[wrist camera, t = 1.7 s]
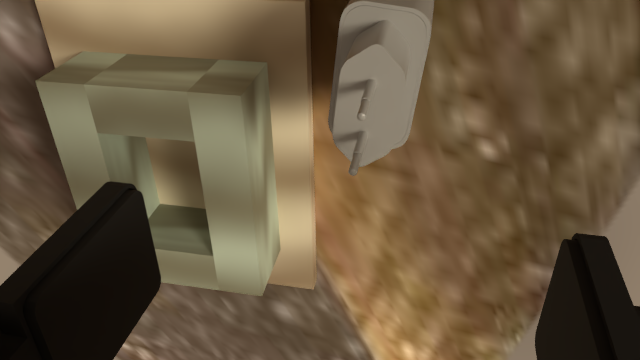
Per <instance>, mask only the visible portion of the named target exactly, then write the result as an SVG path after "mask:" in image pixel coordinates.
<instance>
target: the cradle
mask: <svg viewBox="0 0 640 360" xmlns="http://www.w3.org/2000/svg"><path fill="white" fill-rule="evenodd" d="M35 3H36V6H37V10H38V13H39V16H40V20H41V23H42V26H43V30H44V33H45V36H46V40H47V43H48V46H49V50H50V53H51V56H52V60H53V63H54V66H55V69H54V70H52V71H51V72H49V73H47V74H46V75H44V76H42V77H41V78H39V79H38V80H36V81H35V82H36V85H37V88H38V91H39V94H40V97H41V100H42V104H43V107H44V110H45V113H46V116H47V119H48V122H49V125H50V128H51V131H52V134H53V137H54V140H55V144H56V147H57V150H58V153H59V156H60V159H61V162H62V165H63V168H64V171H65V174H66V177H67V181H68V184H69V187H70V190H71V193H72V196H73V199H74V202H75V205H76V208H77V210H78V209H79V208H80V207H81V206H82V205H83V204H84V203H85V202H86V201H87V200H88V199H89V198H90V197H92V196H93V195H94V194H95V193H96V192H97V191H98V190H99V189H100V188H101V187H102V186H103V185H104V184H105V183H106V182H109V181H112V182H121V183H130V184H133V185H134V186H135V187H136V189H137V190H138V191H141V193H142V195H143V198H144V202H145V207H146V211H147V216H148V220H149V225H150V229H151V234H152V238H153V243H154V247H155V252H156V256H157V261H158V265H159V270H160V274H161V282H164V283H171V284H178V285H185V286H193V287H200V288H207V289H214V290H221V291H228V292H236V293H243V294H250V295H257V296H262V294H263V292H264V290H265V287H266V285H267V283H270V284H278V285H285V286H292V287H300V288H307V289H314V286H315V283H316V279H317V269H316V229H315V190H314V150H313V111H312V72H311V32H310V0H35Z"/></svg>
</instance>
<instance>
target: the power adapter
mask: <svg viewBox="0 0 640 360" xmlns="http://www.w3.org/2000/svg"><path fill="white" fill-rule="evenodd" d="M433 7H434V0H350V1H349V2H348V4H347V6H346V8H345V9H344V11H343V13H342V15H341V19H340V24H339V33H338V42H337V50H336V59H335V67H334V76H333V84H332V93H331V101H330V110H329V118H328V122H329V128H330V131H331V132H332V134H333V140H334V143H335V145H336V146H337V147H338V148H339V150H340V151H341V152H342V153H343V154H344V155H345V156H346V157H347V158H348V159H349V160H350V161H351V165H350V168H349V174H350V175H353V176H354V175H356V174H357V171H358V167H362V166H365V165H367V164H369V163H371V162H373V161H375V160H377V159H379V158H381V157H383V156H385V155H387V154H388V153H389V152H390V150H391V149H395V148H398V147H400V146H402V145H403V144H404V143H405V142H406V140H407V139H408V136H409V134H410V129H411V124H412V120H413V115H414V111H415V106H416V101H417V97H418V92H419V87H420V83H421V78H422V74H423V69H424V64H425V60H426V55H427V51H428V46H429V41H430V37H431V27H432V17H433Z"/></svg>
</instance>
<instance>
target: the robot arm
mask: <svg viewBox="0 0 640 360" xmlns="http://www.w3.org/2000/svg"><path fill="white" fill-rule="evenodd" d="M160 284H161V274H160V270H159V265H158V261H157V256H156V252H155V247H154V243H153V238H152V234H151V229H150V225H149V220H148V216H147V211H146V207H145V202H144V198H143V195H142V193H141V191H138V190H137V189H136V187H135V186H134V185H133V184H130V183H121V182H112V181H109V182H106V183H105V184H104V185H103V186H102V187H101V188H100V189H99V190H98V191H97V192H96V193H95V194H94V195H93V196H92V197H90V198H89V199H88V200H87V201H86V202H85V203H84V204H83V205H82V206H81V207H80V208H79V209H78V210H77V211H76V212H75V213H74V214H73V215H72V216H71V217H70V218H69V219H68V220H67V221H66V222H65V223H64V224H63V225H62V226H61V227H60V228H59V229H58V230H57V231H56V232H55V233H54V234H53V235H52V236H51V237H50V238H49V239H48V240H47V241H45V242H44V243H43V244H42V245H41V246H40V247H39V248H38V249H37V250H36V251H35V252H34V253H33V254H32V255H31V256H30V257H29V258H28V259H27V260H26V261H25V262H24V263H23V264H22V265H21V266H20V267H19V268H18V269H17V270H16V271H15V272H14V273H13V274H12V275H11V276H10V277H9V278H8V279H7V280H6V281H5V282H4V283H3V284H2V285H1V286H0V360H113V359H114V357H115V356H116V354H117V353H118V351H119V350H120V348H121V347H122V345H123V344H124V342H125V341H126V339H127V338H128V336H129V334H130V333H131V331H132V330H133V328H134V327H135V325H136V324H137V322H138V321H139V319H140V318H141V316H142V315H143V313H144V312H145V310H146V309H147V307H148V306H149V304H150V303H151V301H152V300H153V298H154V297H155V295H156V294H157V292H158V290H159V288H160ZM535 348H536V355H537V360H640V307H639V306H633V303H632V301H631V298H630V295H629V293H628V290H627V288H626V285H625V282H624V280H623V277H622V274H621V272H620V269H619V267H618V264H617V261H616V259H615V256H614V254H613V251H612V248H611V246H610V243H609V241H608V239H607V238H606V237H605V236H596V235H587V234H578V233H576V234H574V236H573V237H572V240H568V239H564V240H563V241H562V243H561V246H560V250H559V253H558V257H557V260H556V264H555V267H554V271H553V274H552V278H551V281H550V285H549V288H548V292H547V295H546V299H545V302H544V305H543V309H542V312H541V316H540V319H539V323H538V326H537V330H536V336H535Z"/></svg>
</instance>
